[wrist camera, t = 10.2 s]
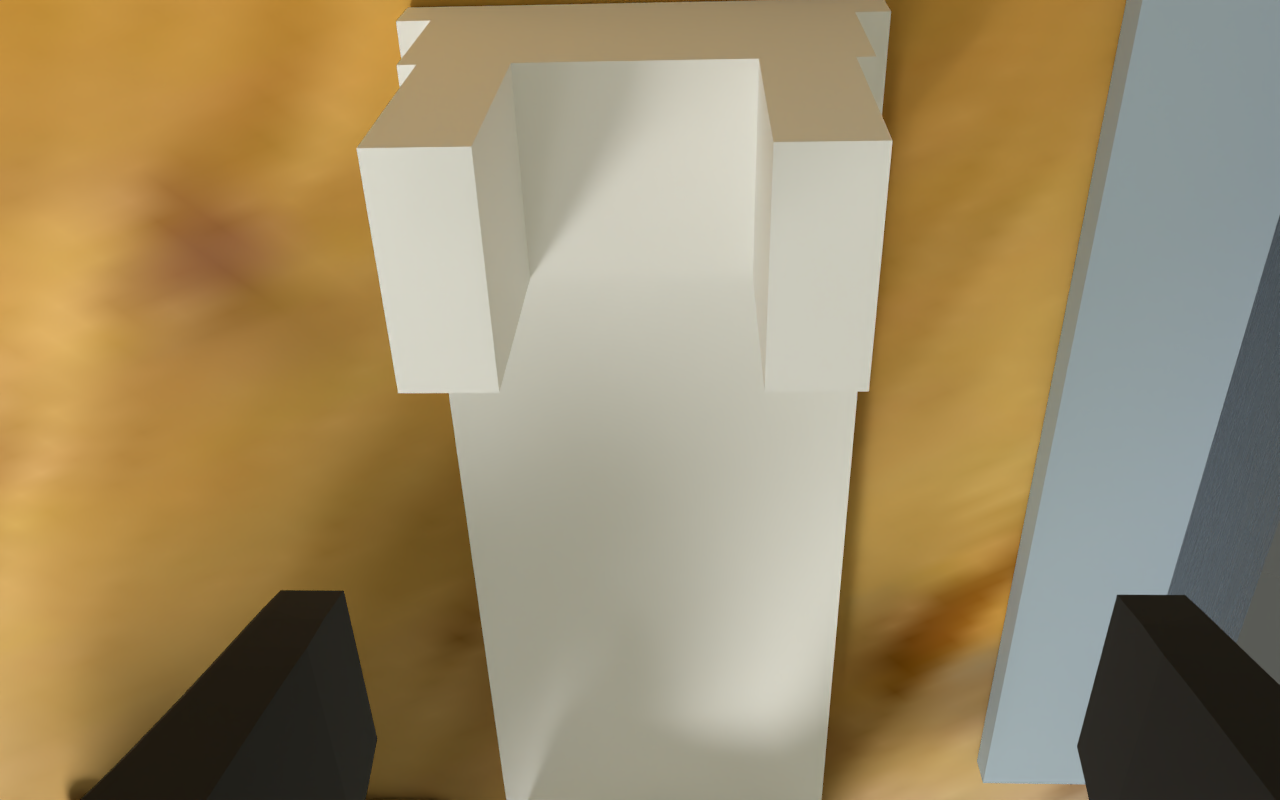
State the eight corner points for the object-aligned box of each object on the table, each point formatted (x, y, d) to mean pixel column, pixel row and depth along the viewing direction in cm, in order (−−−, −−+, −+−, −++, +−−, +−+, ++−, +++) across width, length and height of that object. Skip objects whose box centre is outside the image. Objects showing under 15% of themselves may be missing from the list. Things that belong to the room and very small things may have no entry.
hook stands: (522, 851, 28) (483, 1115, 22) (407, 7, 17) (285, 148, 12) (810, 856, 27) (837, 1125, 22) (882, -3, 16) (968, 139, 11)
